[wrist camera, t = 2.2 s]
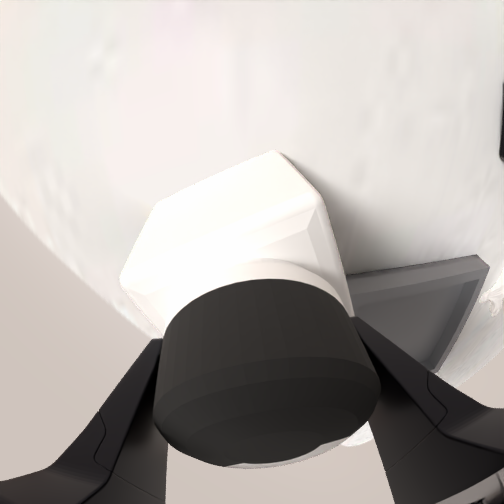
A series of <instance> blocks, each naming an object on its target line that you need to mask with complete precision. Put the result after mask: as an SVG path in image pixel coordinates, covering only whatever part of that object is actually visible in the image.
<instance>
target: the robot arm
mask: <svg viewBox="0 0 504 504" xmlns="http://www.w3.org/2000/svg"><path fill="white" fill-rule="evenodd" d="M500 156H501V158H502V159H504V113H503V129H502V140H501V149H500ZM350 319H351V321H352V323H353V325H354V327H355V329H356V331H357V333H358V335H359V337H360V339H361V341H362V343H363V345H364V347H365V349H366V351H367V354H368V356H369V358H370V360H371V362H372V364H373V366H374V368H375V371H376V373H377V375H378V377H379V379H380V383H381V393H380V396H379V399H378V402H377V405H376V407H375V410H374V412H373V414H372V415H371V417H370V418H369V420H368V422H369V425H370V428H371V431H372V433H373V436H374V439H375V442H376V445H377V448H378V451H379V454H380V457H381V460H382V463H383V466H384V469H385V471H386V476H387V479H388V482H389V486H390V489H391V492H392V495H393V498H394V502H395V504H504V408H503V409H502V408H501V409H500V408H490V407H487V406H484V405H482V404H480V403H479V402H477V401H475V400H474V399H472V398H470V397H469V396H467V395H465V394H464V393H462V392H460V391H459V390H457V389H456V388H454V387H453V386H451V385H449V384H448V383H446V382H445V381H444V380H442V379H441V378H439V377H438V376H437V375H435V374H434V373H433V372H431V371H430V370H428V369H427V368H426V367H425V366H423V365H422V364H421V363H419V362H418V361H417V360H415V359H414V358H413V357H412V356H410V355H409V354H408V353H406V352H405V351H404V350H402V349H401V348H400V347H398V346H397V345H396V344H394V343H393V342H392V341H390V340H389V339H388V338H386V337H385V336H384V335H382V334H381V333H380V332H378V331H377V330H376V329H374V328H373V327H372V326H370V325H369V324H368V323H366V322H365V321H364V320H362V319H361V318H360V317H358V316H353V317H350ZM162 342H163V339H162V338H159V339H152V340H151V341H150V343H149V344H148V345H147V346H146V348H145V349H144V350H143V351H142V353H141V354H140V356H139V357H138V358H137V359H136V361H135V362H134V363H133V365H132V366H131V367H130V369H129V370H128V371H127V373H126V374H125V375H124V377H123V378H122V379H121V381H120V382H119V383H118V385H117V386H116V388H115V389H114V390H113V391H112V393H111V394H110V396H109V397H108V398H107V400H106V401H105V402H104V404H103V405H102V406H101V408H100V409H99V412H97V413H96V414H95V416H94V417H93V419H92V420H91V421H90V423H89V424H88V425H87V427H86V428H85V429H84V430H83V432H82V433H81V434H80V435H79V436H78V437H77V438H76V440H75V441H74V442H73V443H72V444H71V445H70V446H69V447H68V448H67V449H66V450H65V452H64V453H63V454H62V455H61V456H60V457H59V458H58V459H57V460H56V461H55V462H54V463H53V464H52V465H50V466H49V467H48V468H45V469H43V470H40V471H37V472H34V473H31V474H27V475H24V476H20V477H17V478H13V479H9V480H5V481H0V504H165V495H166V470H167V452H168V442H167V441H166V440H165V439H164V437H163V436H162V435H161V434H160V432H159V431H158V429H157V428H156V426H155V424H154V421H153V408H154V399H155V391H156V383H157V376H158V369H159V362H160V355H161V348H162Z"/></svg>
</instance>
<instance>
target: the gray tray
mask: <svg viewBox="0 0 504 504" xmlns="http://www.w3.org/2000/svg"><path fill="white" fill-rule="evenodd" d="M489 269H490V266H488V265H487V264H486V263H485V262H484V261H483V260H482V259H481V258H480V257H479V256H478V255H471V256H466V257H460V258H455V259H449V260H443V261H437V262H431V263H425V264H419V265H413V266H407V267H400V268H394V269H387V270H380V271H374V272H367V273H360V274H352V275H345V277H346V281H347V285H348V289H349V294H350V298H351V302H352V306H353V311H354V315H355V316H358V317H360V318H361V319H362V320H364V321H365V322H366V323H368V324H369V325H370V326H372V327H373V328H374V329H376V330H377V331H378V332H380V333H381V334H382V335H384V336H385V337H386V338H388V339H389V340H390V341H392V342H393V343H394V344H396V345H397V346H398V347H400V348H401V349H402V350H404V351H405V352H406V353H408V354H409V355H410V356H412V357H413V358H414V359H415V360H417V361H418V362H419V363H421V364H422V365H423V366H425V367H426V368H427V369H428V370H430V371H431V372H433V373H436V372H438V370H439V369H440V367H441V366H442V364H443V362H444V361H445V359H446V357H447V356H448V354H449V352H450V351H451V349H452V347H453V345H454V344H455V342H456V340H457V338H458V336H459V334H460V333H461V331H462V329H463V327H464V325H465V323H466V321H467V319H468V317H469V315H470V313H471V311H472V309H473V306H474V304H475V302H476V300H477V298H478V295H479V293H480V291H481V288H482V286H483V284H484V281H485V279H486V276H487V274H488V271H489Z"/></svg>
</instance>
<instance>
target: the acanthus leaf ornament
mask: <svg viewBox="0 0 504 504" xmlns="http://www.w3.org/2000/svg"><path fill="white" fill-rule="evenodd" d="M503 299H504V268H503V270H502V273H501V275H500V277H499V279H498V281H497V282H496V283H495V285H494V286H493V287H492V288H491V289H490V290H489V291H486V292H485V293H483V295H482V296H481V297H480V300H479V303H485V302H486V301H487V300H490V301H491V304H490V308H489V310H490V311H491V313H492V314H491V317H494V316H495V315H497V314H498V313H499V312H500V310H501V308H502V303H503Z"/></svg>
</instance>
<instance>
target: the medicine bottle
mask: <svg viewBox="0 0 504 504" xmlns="http://www.w3.org/2000/svg"><path fill="white" fill-rule="evenodd" d="M119 283H120V285H121V287H122V289H123V290H124V291H125V292H126V294H127V295H128V296H129V297H130V299H131V300H132V301H133V302H134V304H135V305H136V306H137V307H138V308H139V310H140V311H141V312H142V313H143V314H144V316H145V317H146V318H147V319H148V320H149V322H150V323H151V324H152V325H153V326H154V327H155V329H156V330H157V331H158V332H159V333H160V334H161V335H162V336H163V342H162V348H161V355H160V362H159V369H158V376H157V383H156V391H155V399H154V408H153V421H154V424H155V426H156V428H157V429H158V431H159V432H160V434H161V435H162V436H163V437H164V439H165V440H166V441H167V442H168V443H169V444H170V445H171V446H172V447H174V448H175V449H176V450H178V451H180V452H182V453H184V454H186V455H188V456H191V457H193V458H196V459H198V460H201V461H204V462H206V463H209V464H213V465H217V466H222V467H229V468H243V469H246V468H247V469H253V468H268V467H276V466H282V465H287V464H291V463H296V462H300V461H303V460H306V459H309V458H312V457H315V456H318V455H320V454H322V453H325V452H326V451H329V450H331V449H333V448H334V447H336V446H338V445H339V444H341V443H342V442H344V441H345V440H346V439H348V438H349V437H350V436H351V435H352V434H354V433H355V432H356V431H357V430H358V429H360V428H361V427H362V426H363V425H364V424H365V423H366V422H367V421H368V420H369V418H370V417H371V415H372V414H373V412H374V410H375V407H376V405H377V402H378V399H379V396H380V393H381V383H380V379H379V377H378V375H377V373H376V371H375V368H374V366H373V364H372V362H371V360H370V358H369V356H368V354H367V351H366V349H365V347H364V345H363V343H362V341H361V339H360V337H359V335H358V333H357V331H356V329H355V327H354V325H353V323H352V321H351V319H350V317H353V316H355V315H354V311H353V306H352V302H351V298H350V294H349V289H348V285H347V281H346V277H345V273H344V269H343V266H342V262H341V258H340V254H339V251H338V247H337V243H336V240H335V236H334V233H333V229H332V226H331V223H330V219H329V216H328V213H327V209H326V206H325V203H324V200H323V198H322V196H321V195H320V193H319V192H318V191H317V190H316V189H315V188H314V187H313V186H312V185H311V184H310V182H309V181H308V180H307V179H306V178H305V177H304V176H303V175H302V174H301V173H300V172H299V171H298V170H297V169H296V168H295V167H294V166H293V165H292V164H291V163H290V162H289V161H288V160H287V159H286V158H285V157H284V156H283V155H282V154H281V153H280V152H279V151H277V150H272V151H269V152H267V153H264V154H262V155H260V156H257V157H255V158H252V159H250V160H248V161H245V162H243V163H241V164H238V165H236V166H234V167H231V168H229V169H227V170H224V171H222V172H220V173H218V174H216V175H213V176H211V177H209V178H207V179H205V180H202V181H200V182H198V183H196V184H194V185H192V186H190V187H188V188H186V189H184V190H182V191H179V192H177V193H175V194H173V195H171V196H169V197H167V198H165V199H163V200H161V201H159V202H158V203H157V204H155V206H154V208H153V210H152V212H151V214H150V216H149V217H148V219H147V221H146V223H145V225H144V227H143V229H142V231H141V233H140V235H139V237H138V239H137V241H136V243H135V245H134V247H133V249H132V251H131V253H130V255H129V257H128V260H127V262H126V264H125V266H124V268H123V270H122V273H121V275H120V282H119Z"/></svg>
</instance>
